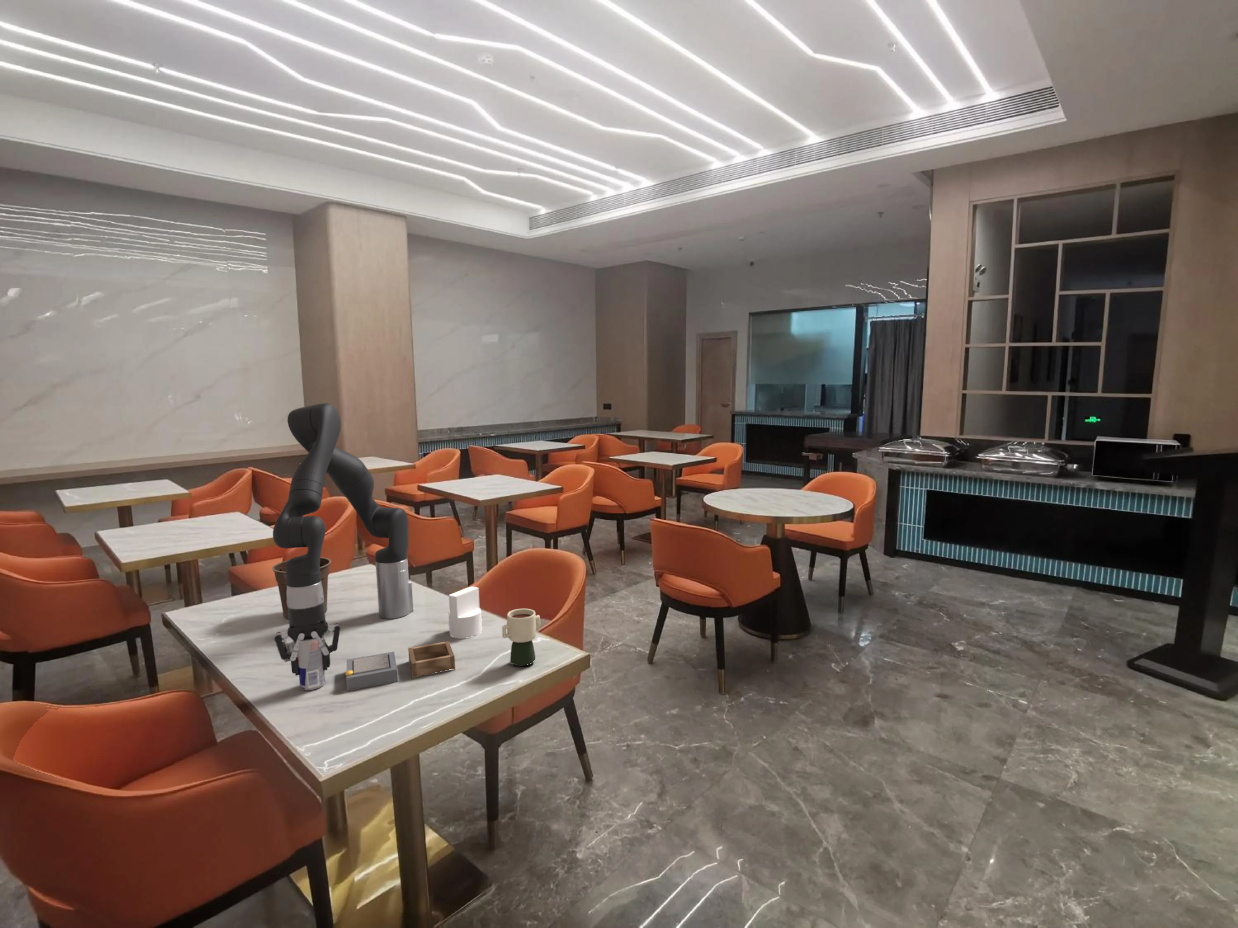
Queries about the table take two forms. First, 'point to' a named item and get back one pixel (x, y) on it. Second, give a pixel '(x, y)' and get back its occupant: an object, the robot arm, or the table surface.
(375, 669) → the pad
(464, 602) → the base with upright slab
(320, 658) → the energy drink
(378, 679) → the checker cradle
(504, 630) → the character mug
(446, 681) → the table surface
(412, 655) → the walnut holder
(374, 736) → the table surface
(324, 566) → the plant pot
